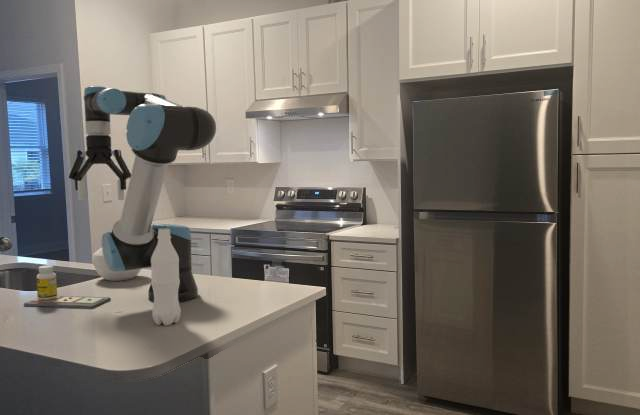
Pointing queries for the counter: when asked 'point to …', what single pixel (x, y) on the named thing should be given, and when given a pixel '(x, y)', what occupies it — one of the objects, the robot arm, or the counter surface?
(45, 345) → the counter surface
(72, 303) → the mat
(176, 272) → the water bottle
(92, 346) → the counter surface
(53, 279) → the supplement bottle
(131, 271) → the vase
